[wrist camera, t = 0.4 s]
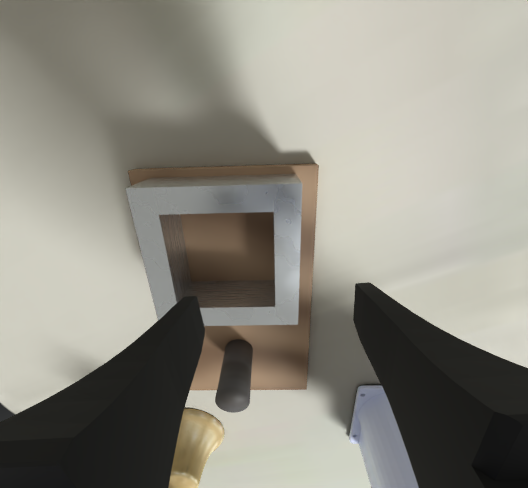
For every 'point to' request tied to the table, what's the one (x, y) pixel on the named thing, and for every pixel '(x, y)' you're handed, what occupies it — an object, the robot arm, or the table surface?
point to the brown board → (247, 268)
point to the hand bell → (194, 447)
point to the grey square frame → (220, 201)
